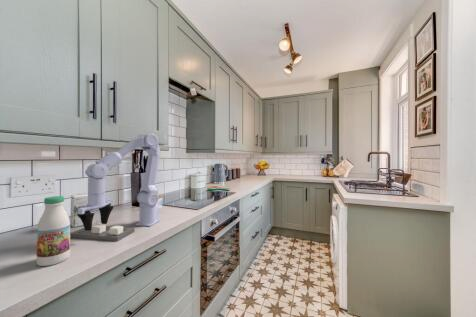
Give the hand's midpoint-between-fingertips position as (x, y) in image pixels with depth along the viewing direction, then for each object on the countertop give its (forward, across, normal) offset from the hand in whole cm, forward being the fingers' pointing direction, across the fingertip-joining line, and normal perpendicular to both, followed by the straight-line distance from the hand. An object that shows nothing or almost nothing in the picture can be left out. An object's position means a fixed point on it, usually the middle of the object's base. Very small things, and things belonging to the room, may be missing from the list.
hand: (96, 226), depth 80 cm
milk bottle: (+4, +18, +2) cm, 18 cm away
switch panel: (+4, -3, 0) cm, 5 cm away
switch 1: (+3, -5, -8) cm, 10 cm away
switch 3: (+3, -1, +8) cm, 8 cm away
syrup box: (+4, -11, -20) cm, 23 cm away
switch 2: (+2, -1, 0) cm, 3 cm away
